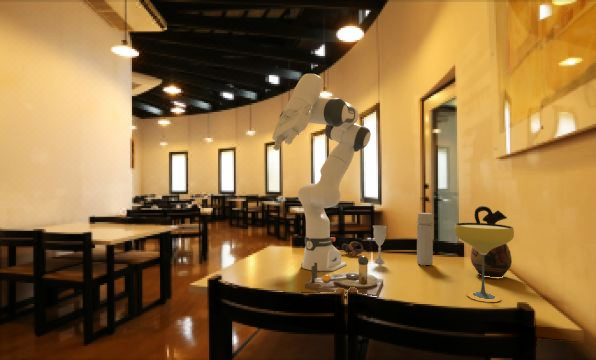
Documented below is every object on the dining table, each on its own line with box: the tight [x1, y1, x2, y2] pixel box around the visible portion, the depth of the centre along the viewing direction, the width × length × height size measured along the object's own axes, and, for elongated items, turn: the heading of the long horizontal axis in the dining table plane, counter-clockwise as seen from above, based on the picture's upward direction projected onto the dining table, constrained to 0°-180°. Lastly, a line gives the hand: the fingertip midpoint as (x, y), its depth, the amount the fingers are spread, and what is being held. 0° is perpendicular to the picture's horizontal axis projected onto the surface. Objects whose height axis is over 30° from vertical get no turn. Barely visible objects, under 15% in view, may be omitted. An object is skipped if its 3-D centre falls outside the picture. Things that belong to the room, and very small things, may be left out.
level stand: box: [304, 263, 384, 297], centre depth 130 cm, size 20×26×8 cm
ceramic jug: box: [470, 205, 513, 277], centre depth 148 cm, size 17×15×30 cm
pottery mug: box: [341, 241, 364, 258], centre depth 189 cm, size 12×10×8 cm
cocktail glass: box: [454, 222, 515, 299], centre depth 120 cm, size 18×18×25 cm
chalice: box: [372, 225, 388, 265], centre depth 172 cm, size 7×7×18 cm
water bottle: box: [416, 212, 434, 266], centre depth 169 cm, size 9×8×25 cm
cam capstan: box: [321, 255, 377, 288], centre depth 128 cm, size 17×22×11 cm
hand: (281, 146), depth 114 cm, fingers open, 8 cm apart
